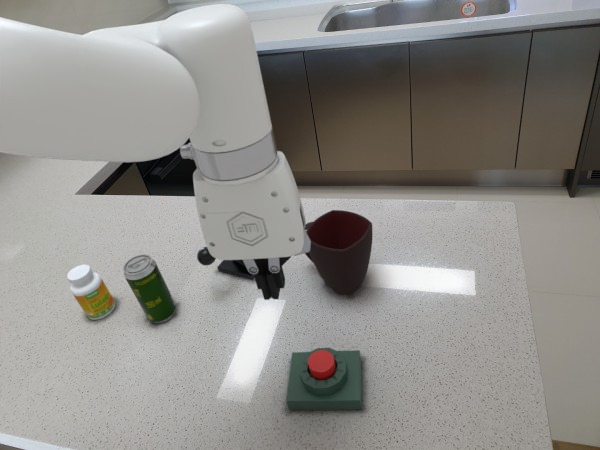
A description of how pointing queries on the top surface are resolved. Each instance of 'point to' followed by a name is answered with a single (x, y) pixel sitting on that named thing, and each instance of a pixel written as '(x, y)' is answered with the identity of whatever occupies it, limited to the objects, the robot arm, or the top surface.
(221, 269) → the switch bracket
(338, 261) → the cup
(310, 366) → the stop button
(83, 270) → the supplement bottle
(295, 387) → the control box
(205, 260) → the switch lever
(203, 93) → the robot arm
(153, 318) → the beer can
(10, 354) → the top surface
